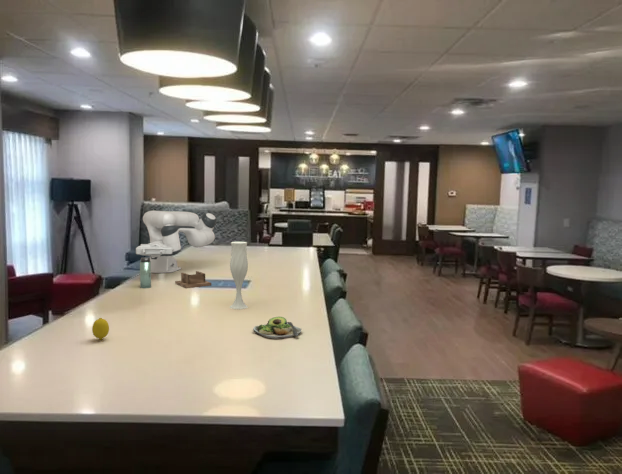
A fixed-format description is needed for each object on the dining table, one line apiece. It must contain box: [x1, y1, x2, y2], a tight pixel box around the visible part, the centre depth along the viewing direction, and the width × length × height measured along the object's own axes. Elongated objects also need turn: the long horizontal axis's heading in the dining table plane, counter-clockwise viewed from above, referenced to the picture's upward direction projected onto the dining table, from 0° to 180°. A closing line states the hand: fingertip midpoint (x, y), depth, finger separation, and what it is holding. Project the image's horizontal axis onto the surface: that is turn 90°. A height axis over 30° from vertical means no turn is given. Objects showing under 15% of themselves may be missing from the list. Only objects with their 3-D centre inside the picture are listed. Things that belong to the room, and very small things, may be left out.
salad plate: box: [252, 316, 302, 340], centre depth 193 cm, size 19×18×5 cm
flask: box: [139, 256, 152, 289], centre depth 274 cm, size 6×6×16 cm
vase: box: [229, 241, 249, 310], centre depth 232 cm, size 9×8×30 cm
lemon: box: [91, 317, 110, 341], centre depth 181 cm, size 6×6×8 cm
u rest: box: [174, 270, 212, 289], centre depth 284 cm, size 15×15×6 cm
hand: (152, 252), depth 284 cm, fingers open, 8 cm apart
